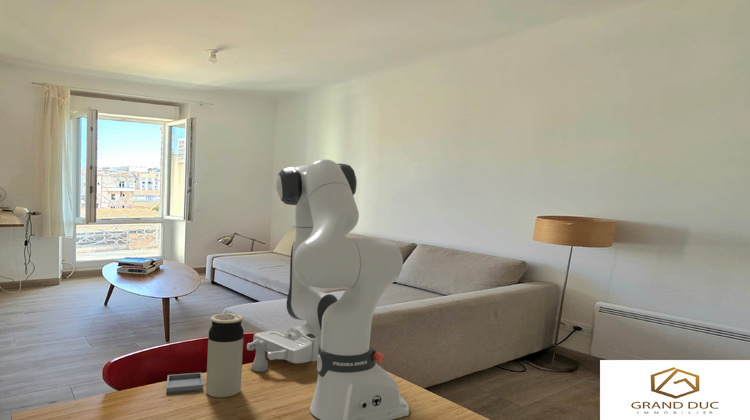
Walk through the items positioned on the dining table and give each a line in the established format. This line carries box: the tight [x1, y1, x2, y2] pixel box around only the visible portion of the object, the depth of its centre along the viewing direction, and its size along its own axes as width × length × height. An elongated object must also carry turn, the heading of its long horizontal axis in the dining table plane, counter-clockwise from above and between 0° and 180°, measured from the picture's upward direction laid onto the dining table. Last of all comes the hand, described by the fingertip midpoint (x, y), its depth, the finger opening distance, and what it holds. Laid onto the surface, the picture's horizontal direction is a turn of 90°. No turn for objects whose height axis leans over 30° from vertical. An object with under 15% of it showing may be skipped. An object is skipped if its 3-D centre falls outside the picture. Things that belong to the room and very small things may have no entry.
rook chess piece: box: [251, 339, 269, 373], centre depth 130 cm, size 4×4×8 cm
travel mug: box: [205, 312, 245, 399], centre depth 115 cm, size 8×8×18 cm
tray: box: [166, 372, 204, 395], centre depth 117 cm, size 8×8×2 cm
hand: (258, 351), depth 130 cm, fingers open, 8 cm apart
